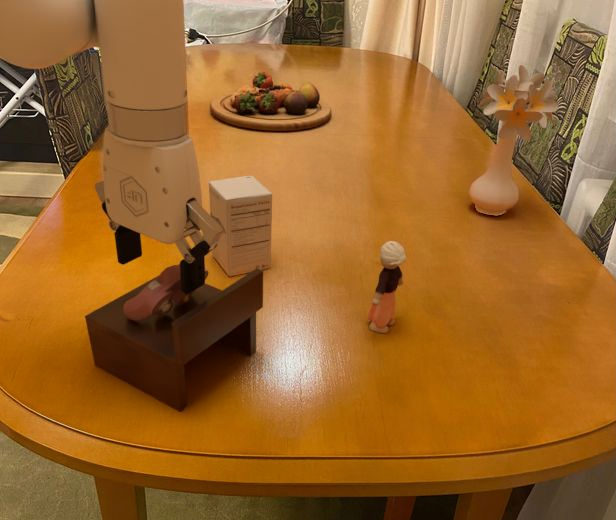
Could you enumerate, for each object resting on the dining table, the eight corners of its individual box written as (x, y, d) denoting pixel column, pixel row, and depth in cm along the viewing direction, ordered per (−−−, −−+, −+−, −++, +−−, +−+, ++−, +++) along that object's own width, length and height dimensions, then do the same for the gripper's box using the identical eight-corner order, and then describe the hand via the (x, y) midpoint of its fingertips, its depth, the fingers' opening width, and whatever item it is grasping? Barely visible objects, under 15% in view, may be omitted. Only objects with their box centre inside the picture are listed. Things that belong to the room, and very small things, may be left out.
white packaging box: (210, 256, 97) (207, 180, 89) (253, 248, 100) (253, 173, 92) (227, 278, 92) (225, 199, 84) (272, 269, 94) (273, 191, 87)
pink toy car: (145, 341, 69) (161, 303, 64) (117, 314, 69) (130, 274, 64) (202, 303, 75) (220, 266, 70) (175, 278, 76) (192, 240, 71)
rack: (94, 365, 74) (76, 278, 66) (175, 314, 83) (167, 233, 76) (187, 415, 67) (178, 326, 60) (262, 354, 77) (263, 270, 70)
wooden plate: (220, 93, 173) (219, 62, 168) (331, 101, 173) (333, 70, 168) (199, 128, 147) (197, 92, 142) (330, 136, 147) (333, 101, 142)
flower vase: (464, 230, 109) (498, 83, 94) (452, 190, 124) (480, 58, 109) (537, 236, 109) (582, 89, 94) (516, 195, 124) (552, 63, 109)
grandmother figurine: (374, 309, 87) (386, 228, 79) (400, 315, 86) (415, 234, 78) (358, 337, 81) (369, 253, 73) (386, 344, 80) (400, 260, 72)
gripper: (56, 106, 59) (82, 261, 69) (189, 151, 52) (196, 315, 62) (115, 93, 64) (131, 238, 75) (244, 132, 57) (242, 286, 68)
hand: (161, 273), depth 68 cm, fingers open, 9 cm apart
